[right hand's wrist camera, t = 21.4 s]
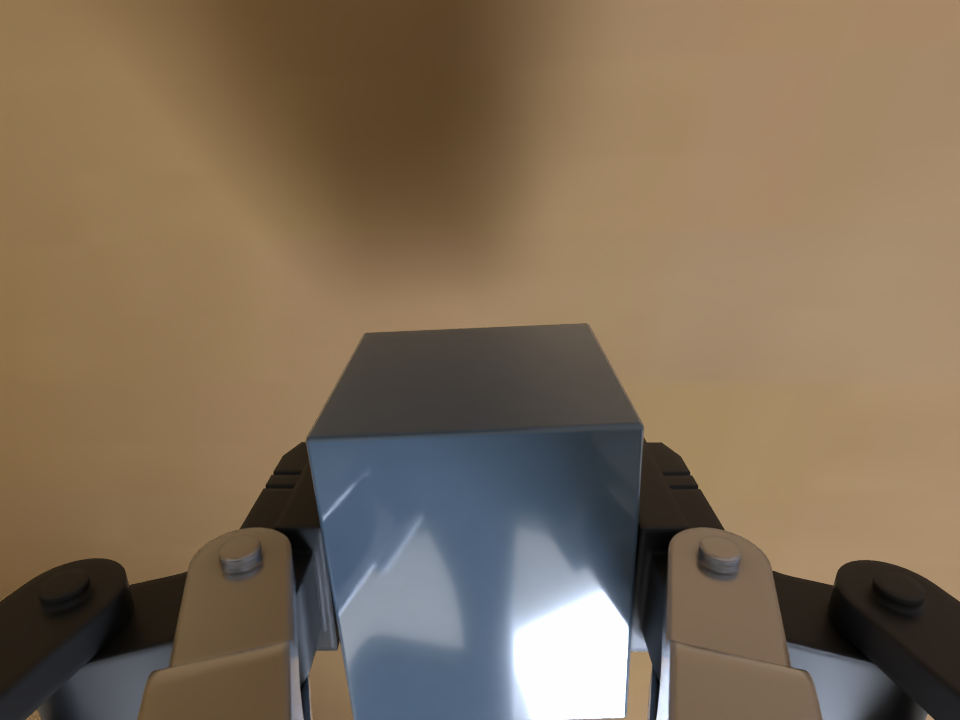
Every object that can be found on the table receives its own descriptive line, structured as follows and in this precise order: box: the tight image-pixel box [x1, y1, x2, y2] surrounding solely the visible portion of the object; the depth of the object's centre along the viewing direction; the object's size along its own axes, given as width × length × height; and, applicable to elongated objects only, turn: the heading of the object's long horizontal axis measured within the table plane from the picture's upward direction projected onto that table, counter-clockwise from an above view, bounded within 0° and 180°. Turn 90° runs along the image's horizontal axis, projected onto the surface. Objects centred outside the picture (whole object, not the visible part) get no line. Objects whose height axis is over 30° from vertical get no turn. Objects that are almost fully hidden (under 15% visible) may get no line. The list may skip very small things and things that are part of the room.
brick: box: [306, 323, 644, 720], centre depth 10 cm, size 4×5×4 cm
